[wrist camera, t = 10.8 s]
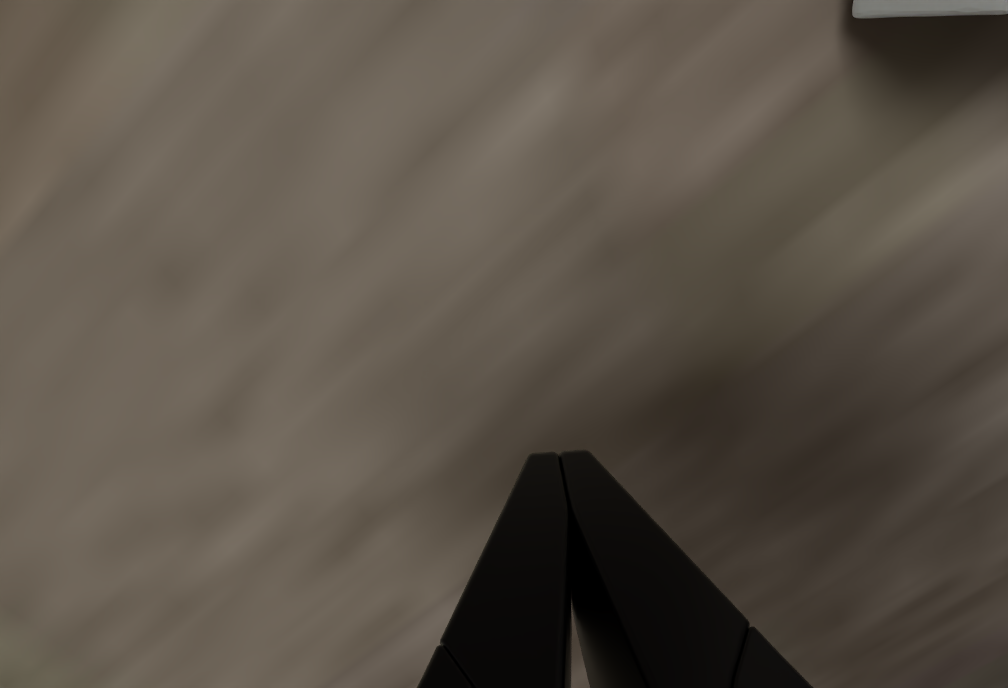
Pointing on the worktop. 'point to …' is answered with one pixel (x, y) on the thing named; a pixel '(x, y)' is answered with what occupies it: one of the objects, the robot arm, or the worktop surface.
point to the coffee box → (927, 8)
